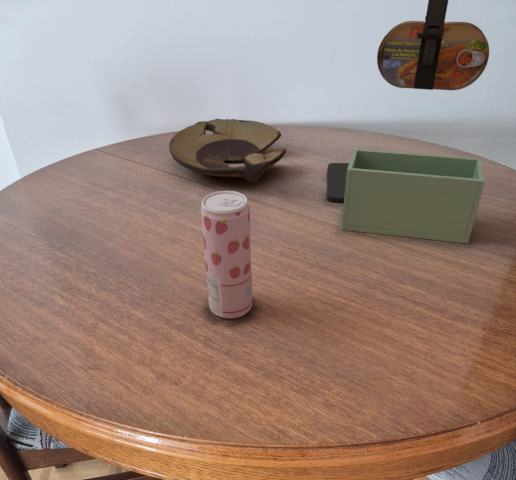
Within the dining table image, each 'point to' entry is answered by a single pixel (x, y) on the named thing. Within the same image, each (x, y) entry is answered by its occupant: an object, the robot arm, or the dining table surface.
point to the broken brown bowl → (226, 148)
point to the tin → (449, 62)
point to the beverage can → (227, 253)
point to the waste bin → (412, 195)
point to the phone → (336, 181)
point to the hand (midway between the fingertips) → (423, 84)
